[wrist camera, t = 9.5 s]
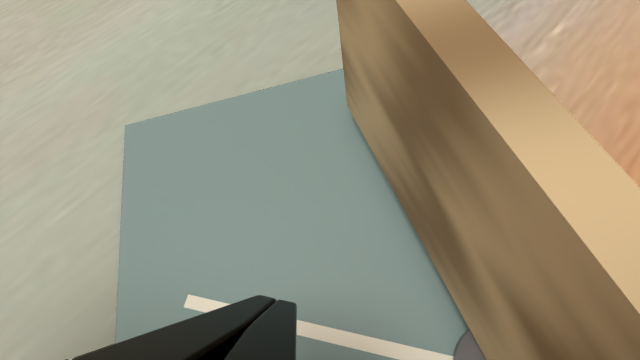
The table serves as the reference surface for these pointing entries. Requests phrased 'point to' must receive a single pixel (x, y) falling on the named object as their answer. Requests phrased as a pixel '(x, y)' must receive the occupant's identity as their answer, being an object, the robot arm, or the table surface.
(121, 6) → the table surface
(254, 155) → the board
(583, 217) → the gate
